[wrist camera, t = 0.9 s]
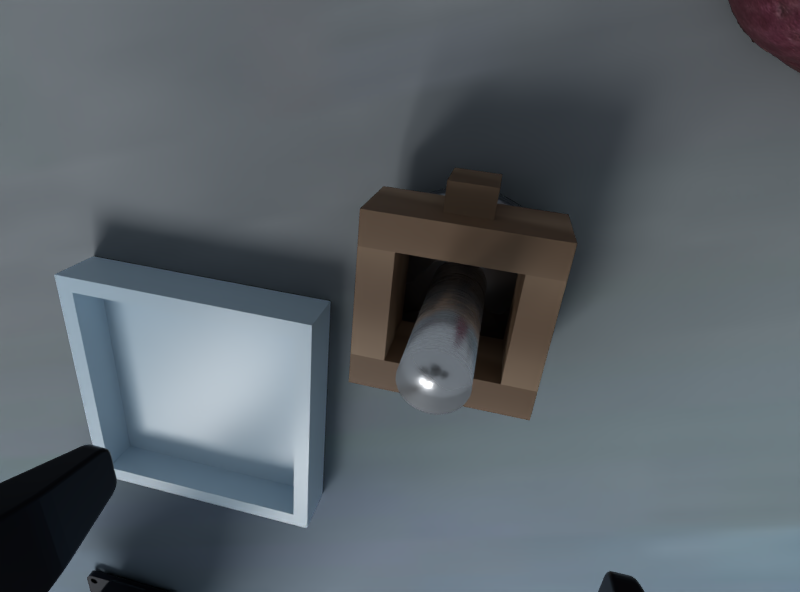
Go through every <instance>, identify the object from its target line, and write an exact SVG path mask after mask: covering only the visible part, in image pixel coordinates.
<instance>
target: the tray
mask: <svg viewBox="0 0 800 592" xmlns="http://www.w3.org/2000/svg"><path fill="white" fill-rule="evenodd" d="M54 275H55V280H56V284H57V289H58V293H59V298H60V302H61V307H62V311H63V316H64V320H65V324H66V329H67V333H68V338H69V342H70V347H71V351H72V356H73V360H74V365H75V369H76V373H77V378H78V382H79V387H80V391H81V396H82V400H83V405H84V409H85V414H86V418H87V422H88V427H89V431H90V436H91V440H92V445H95V446H99V447H103V448H106V449H108V450H109V451H110V453H111V457H112V461H113V465H114V470H115V474H116V478H117V479H119V480H123V481H127V482H131V483H134V484H138V485H142V486H146V487H150V488H154V489H158V490H161V491H165V492H169V493H173V494H177V495H181V496H184V497H188V498H192V499H196V500H200V501H204V502H208V503H211V504H215V505H219V506H223V507H227V508H231V509H235V510H238V511H242V512H246V513H250V514H254V515H258V516H262V517H265V518H269V519H273V520H277V521H281V522H285V523H289V524H292V525H296V526H300V527H304V528H307V527H308V525H309V523H310V521H311V518H312V516H313V514H314V512H315V509H316V507H317V505H318V503H319V501H320V498H321V496H322V494H323V471H324V447H325V423H326V399H327V375H328V351H329V327H330V304H331V301H327V300H321V299H316V298H311V297H305V296H300V295H295V294H290V293H284V292H279V291H274V290H268V289H263V288H258V287H253V286H247V285H242V284H237V283H231V282H226V281H221V280H216V279H210V278H205V277H200V276H195V275H189V274H184V273H179V272H173V271H168V270H163V269H158V268H152V267H147V266H142V265H136V264H131V263H126V262H121V261H115V260H110V259H105V258H99V257H94V256H93V257H91V258H89V259H86V260H84V261H82V262H80V263H78V264H76V265H74V266H72V267H69V268H67V269H65V270H63V271H61V272H59V273H57V274H54Z"/></svg>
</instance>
